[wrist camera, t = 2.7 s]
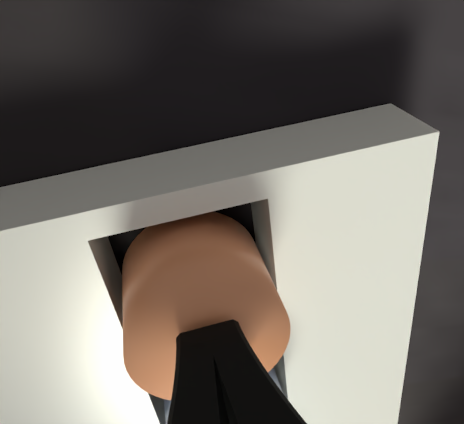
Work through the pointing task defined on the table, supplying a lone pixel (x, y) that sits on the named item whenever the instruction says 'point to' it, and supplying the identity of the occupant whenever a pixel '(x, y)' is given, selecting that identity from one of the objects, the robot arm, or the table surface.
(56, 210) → the panel
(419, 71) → the table surface
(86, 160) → the table surface
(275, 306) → the terracotta button
